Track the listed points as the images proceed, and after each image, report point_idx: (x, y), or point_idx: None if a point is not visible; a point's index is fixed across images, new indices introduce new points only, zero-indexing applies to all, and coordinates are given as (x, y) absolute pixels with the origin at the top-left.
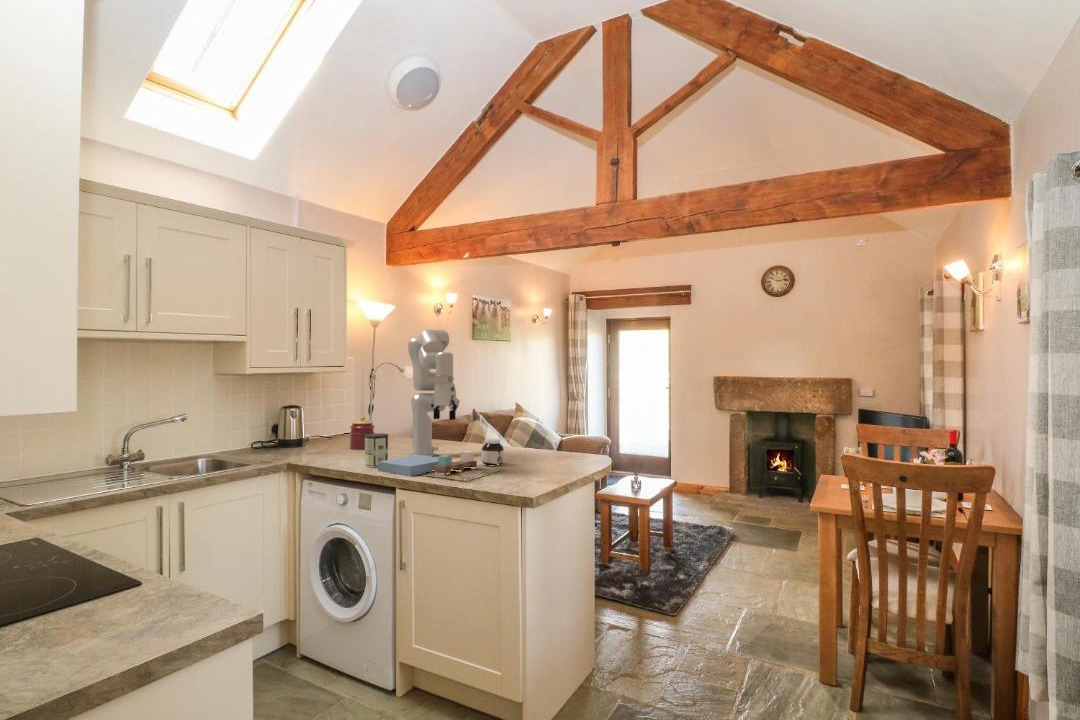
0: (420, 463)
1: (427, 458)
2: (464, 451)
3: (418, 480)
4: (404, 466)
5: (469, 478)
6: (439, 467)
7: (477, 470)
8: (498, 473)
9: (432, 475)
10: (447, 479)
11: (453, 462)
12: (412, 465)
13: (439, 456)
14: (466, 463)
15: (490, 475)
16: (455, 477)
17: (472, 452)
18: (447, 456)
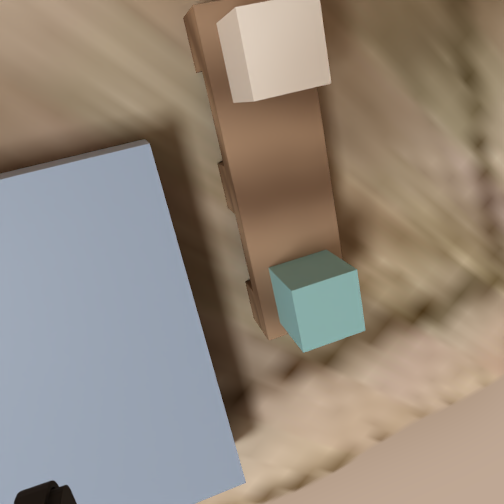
0: (190, 406)
1: (3, 286)
2: (244, 48)
3: (341, 439)
4: (197, 497)
5: (467, 232)
6: None
7: (337, 47)
8: (490, 13)
9: (286, 346)
10: (412, 328)
11: (248, 183)
12: (225, 465)
13: (314, 347)
14: (318, 115)
15: (493, 95)
16: (404, 275)
17: (319, 11)
18: (361, 308)
